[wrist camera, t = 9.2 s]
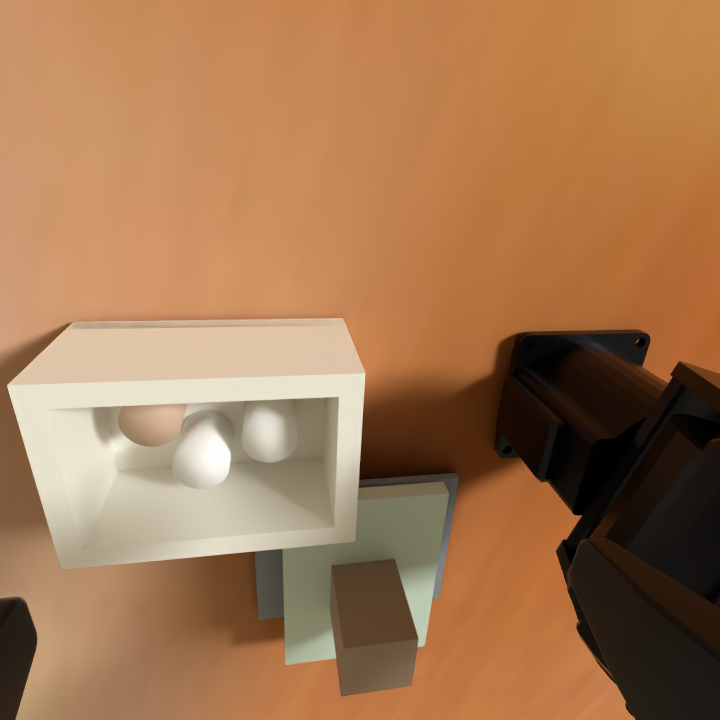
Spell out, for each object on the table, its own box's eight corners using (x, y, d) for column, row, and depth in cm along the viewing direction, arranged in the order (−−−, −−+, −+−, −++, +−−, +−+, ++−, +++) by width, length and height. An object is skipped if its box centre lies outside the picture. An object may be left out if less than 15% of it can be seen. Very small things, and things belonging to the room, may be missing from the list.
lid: (415, 615, 27) (449, 728, 22) (284, 632, 26) (288, 755, 21) (436, 468, 23) (485, 565, 18) (280, 479, 22) (284, 587, 16)
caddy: (342, 318, 19) (365, 373, 15) (337, 460, 22) (355, 541, 18) (73, 321, 18) (6, 385, 13) (106, 475, 20) (61, 569, 16)
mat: (456, 472, 24) (459, 477, 23) (436, 592, 27) (439, 598, 27) (251, 487, 22) (250, 493, 22) (258, 613, 26) (258, 620, 25)
